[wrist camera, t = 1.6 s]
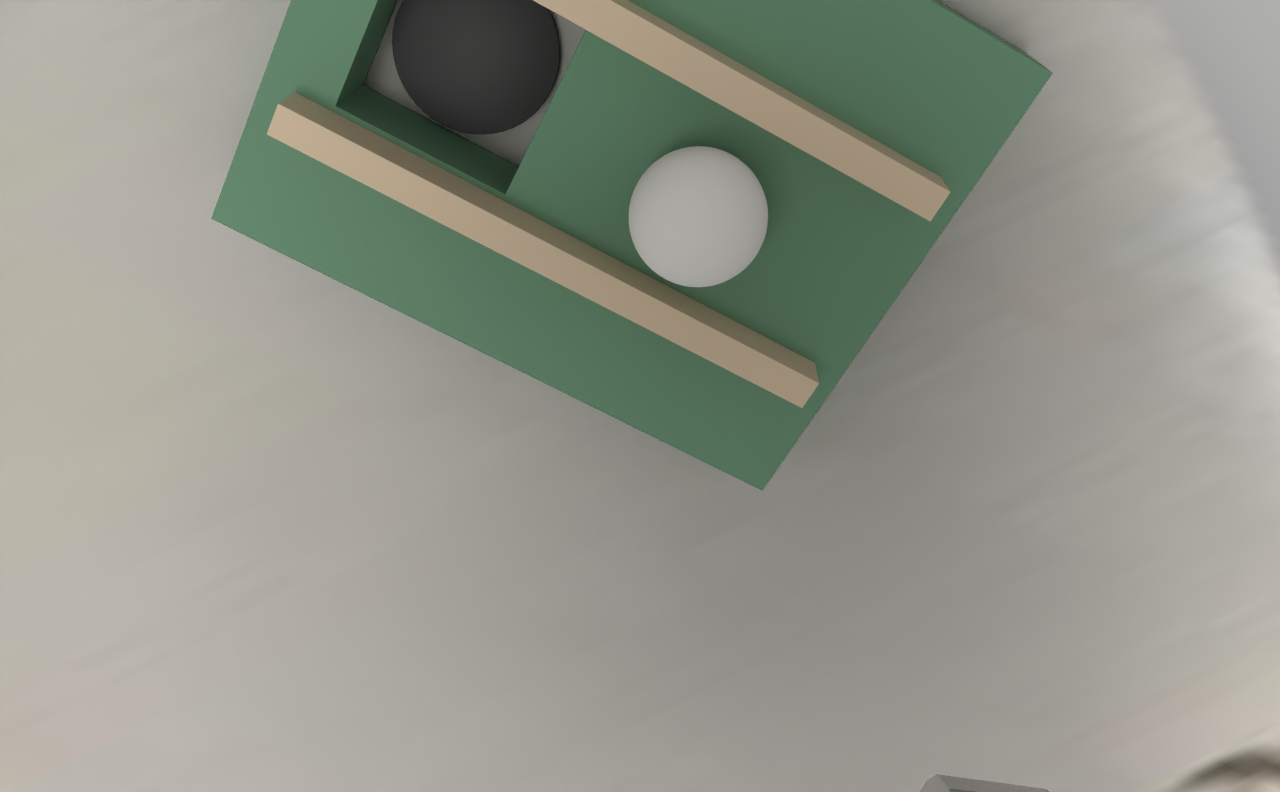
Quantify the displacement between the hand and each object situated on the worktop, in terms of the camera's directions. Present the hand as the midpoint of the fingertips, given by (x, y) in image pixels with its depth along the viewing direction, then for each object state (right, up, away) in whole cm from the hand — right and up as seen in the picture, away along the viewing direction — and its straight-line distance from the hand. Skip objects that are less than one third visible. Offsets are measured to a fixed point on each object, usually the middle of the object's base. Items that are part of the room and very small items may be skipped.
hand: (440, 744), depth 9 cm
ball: (+3, +8, +23) cm, 25 cm away
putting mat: (+1, +12, +27) cm, 29 cm away
